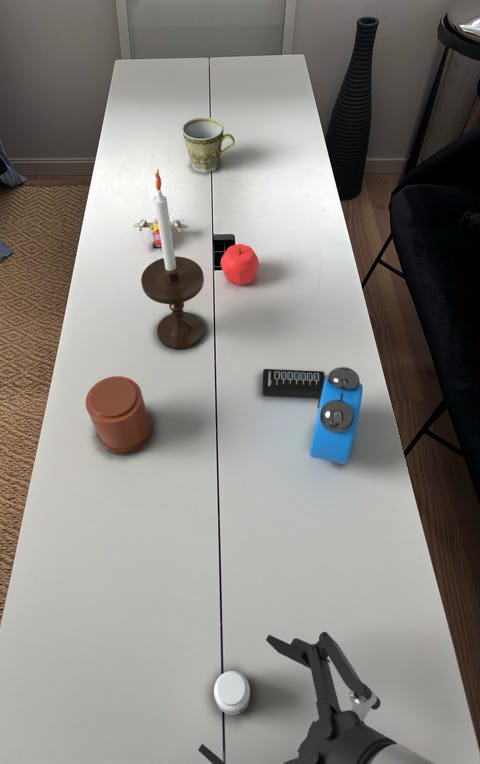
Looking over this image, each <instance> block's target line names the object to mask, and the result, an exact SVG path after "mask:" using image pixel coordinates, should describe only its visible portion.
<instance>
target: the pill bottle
mask: <svg viewBox="0 0 480 764" xmlns="http://www.w3.org/2000/svg"><path fill="white" fill-rule="evenodd" d="M213 696H214V700H215V702H216V704H217V707H218V708H219V709H220V710H221V712H223V713H224V714H226V715H229V716H237V715H240V714H241V713H243V712H244V711H245V710H246V709H247V707H248V706H249V703H250V698H251V688H250V683H249V681H248V679H247V677H246V676H245V675H244V674H243V673H242V672H239V671H236V670H228V671H225V672H223V673H222V674H220V675H219V676H218V677H217V680H215V684H214V687H213Z"/></svg>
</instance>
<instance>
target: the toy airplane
mask: <svg viewBox="0 0 480 764" xmlns="http://www.w3.org/2000/svg"><path fill="white" fill-rule="evenodd" d="M170 226H171V229H177V232H178V233H181V231H182V229H187V228H188V224H186V223H181V221H180V220H179V219H175V218H173V219H172V221H170ZM133 228H139V229H138V231H139V232H142V231H143V228H146V229H147V228H149V229H150V230H153V241H152V249H156V247H158V248H162V244H161V238H160V232H159V226H158V220H157V214H154V216H153V222H147V218H143V219H141V220H140V221H139V222H135V223H134V224H133Z"/></svg>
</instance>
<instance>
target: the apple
mask: <svg viewBox="0 0 480 764" xmlns="http://www.w3.org/2000/svg"><path fill="white" fill-rule="evenodd" d="M259 266H260V260H259V257H258V255H257V254H256V252H255V250H254V249H253V248H252V247H251V246H250V245H246V244H242V243H238V244H234V245H230V246H229V247H228V248H227V249H226V251H225V252H224V253H223V255H222V257H221V259H220V267H221V269H222V273H223V274H224V277H225V279H226V280H227V283H230V284H233V285H236V286H243V285H246V284H250V283H252V282H253V280H255V277H256V275H257V273H258V269H259Z"/></svg>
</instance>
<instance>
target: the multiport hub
mask: <svg viewBox="0 0 480 764" xmlns="http://www.w3.org/2000/svg"><path fill="white" fill-rule="evenodd" d="M325 376H326V375H325V372H324V371H323V370H303V369H302V370H300V369H299V370H298V369H279V368H278V369H277V368H264V369H263V370H262V387H261V394H262V396H263V397H279V398H280V397H281V398H298V399H299V398H300V399H319V397H320V394H321V391H322V390H323V386H324V381H325V378H326V377H325Z"/></svg>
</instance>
